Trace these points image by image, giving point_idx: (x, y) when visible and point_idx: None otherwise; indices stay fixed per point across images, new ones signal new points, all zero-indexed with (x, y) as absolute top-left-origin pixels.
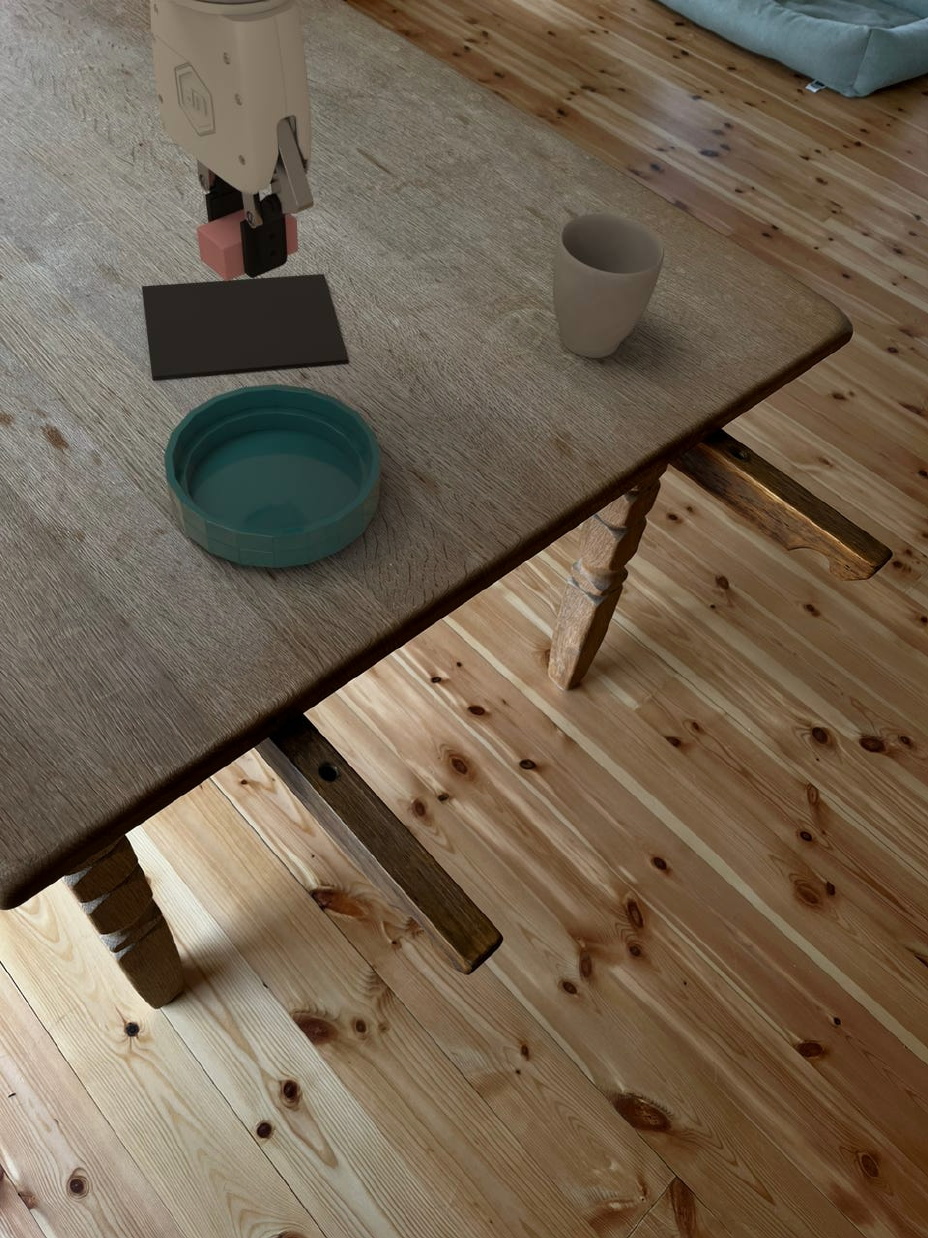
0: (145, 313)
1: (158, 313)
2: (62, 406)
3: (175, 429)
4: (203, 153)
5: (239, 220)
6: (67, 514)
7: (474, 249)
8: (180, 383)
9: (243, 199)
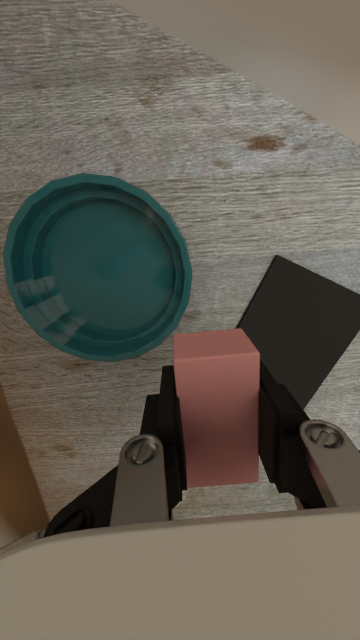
0: (347, 289)
1: (339, 298)
2: (296, 169)
3: (171, 219)
4: (274, 589)
5: (233, 420)
6: (175, 104)
7: (253, 506)
8: (259, 272)
9: (162, 481)
